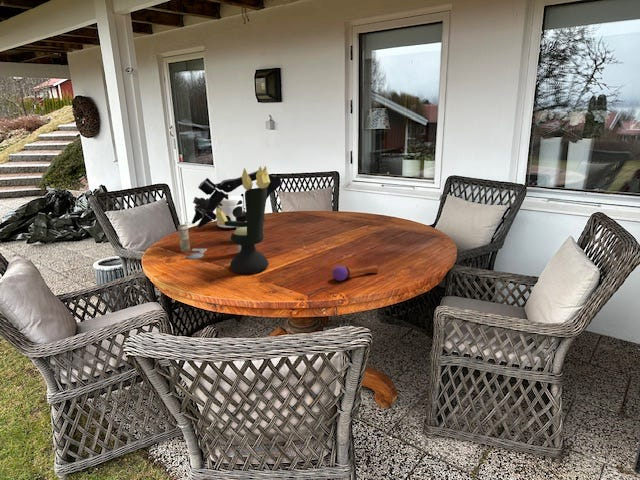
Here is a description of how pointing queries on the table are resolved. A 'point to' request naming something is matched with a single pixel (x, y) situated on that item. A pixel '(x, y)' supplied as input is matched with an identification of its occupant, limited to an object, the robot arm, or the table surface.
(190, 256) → the coaster
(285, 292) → the table surface
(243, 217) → the travel mug
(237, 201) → the milk container
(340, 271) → the kendama
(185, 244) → the ringed post
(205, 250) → the bent rod
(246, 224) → the candelabra
